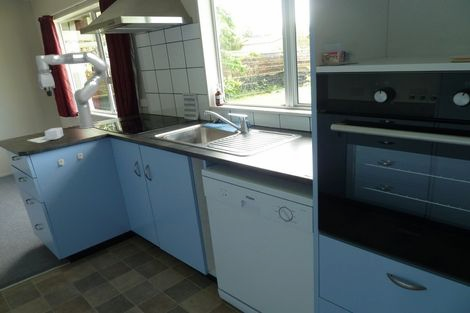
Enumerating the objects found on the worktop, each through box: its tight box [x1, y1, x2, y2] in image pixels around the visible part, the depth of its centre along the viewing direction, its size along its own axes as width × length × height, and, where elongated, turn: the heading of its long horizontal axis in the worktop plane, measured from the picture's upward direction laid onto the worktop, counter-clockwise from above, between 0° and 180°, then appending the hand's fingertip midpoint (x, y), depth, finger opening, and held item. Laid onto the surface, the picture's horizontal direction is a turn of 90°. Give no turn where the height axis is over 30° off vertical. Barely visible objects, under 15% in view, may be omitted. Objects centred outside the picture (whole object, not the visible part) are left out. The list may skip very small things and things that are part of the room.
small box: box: [44, 127, 64, 141], centre depth 245 cm, size 8×6×13 cm
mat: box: [26, 135, 62, 144], centre depth 247 cm, size 16×18×1 cm
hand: (49, 96), depth 264 cm, fingers closed
